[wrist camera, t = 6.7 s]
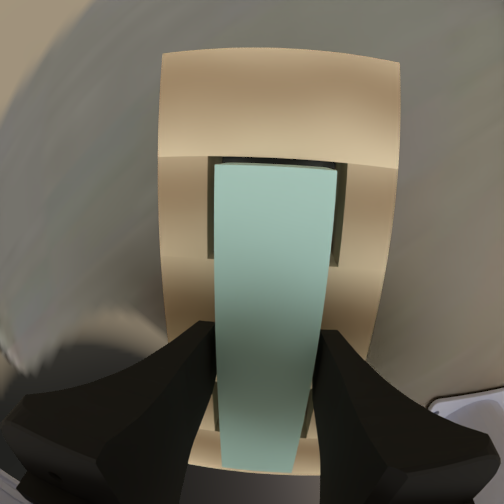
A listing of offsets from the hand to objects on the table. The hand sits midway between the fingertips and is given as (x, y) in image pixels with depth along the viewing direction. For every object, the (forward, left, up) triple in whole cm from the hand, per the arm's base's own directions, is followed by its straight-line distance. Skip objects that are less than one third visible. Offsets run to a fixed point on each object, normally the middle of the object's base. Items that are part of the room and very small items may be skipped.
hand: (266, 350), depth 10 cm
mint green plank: (0, 0, -4) cm, 4 cm away
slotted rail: (0, 0, -4) cm, 4 cm away
